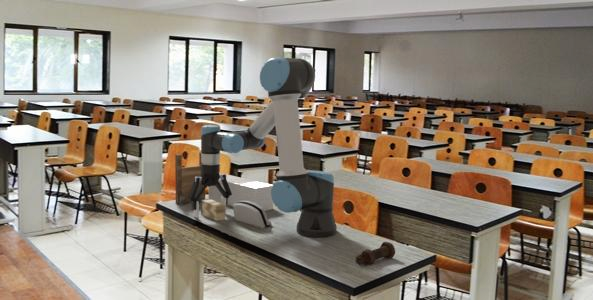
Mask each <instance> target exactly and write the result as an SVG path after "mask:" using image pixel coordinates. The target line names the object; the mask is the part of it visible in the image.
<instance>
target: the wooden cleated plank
mask: <svg viewBox="0 0 593 300" xmlns="http://www.w3.org/2000/svg"><path fill="white" fill-rule="evenodd" d="M198 155H199V157H198V159H199V164H198V165H193V166H185V167H182V165H183V164H182V163H183V161H182V159H183V158H182V154H179V153H177V154H175V156H174V157H175V159H174V160H175V161H174V162H175V164H174V165H175V166H174V167H175V179H174V180H175V181H174V183H175V204H176V205H180V206H181V205H184V206H185V205H186V204H187V203H192V201H189V200H188V196H189V193H190V191H191V188H192V186H193V183H194V177H201V175H202V174H201V164H203V163H202V162H201V151H200V152H199V154H198ZM201 182H202V181H201ZM201 182H199V186H198V188H199V187H200V184H201ZM197 190H198V189H197ZM196 192H197V191H196ZM205 199H206V189H205V190H204V191H203V193H202V194H201V196H200V197H199V199H198V201H197V202H199V203H201V200H205Z"/></svg>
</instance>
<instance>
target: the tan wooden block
mask: <svg viewBox="0 0 593 300" xmlns="http://www.w3.org/2000/svg"><path fill="white" fill-rule="evenodd" d="M200 215H202V216H204V217H207V218H209V219H211V220H214V221H215V222H216V221H223V220H225V219H226V213H225V204H222V203H219V202H217V201H214V200H211V199H208V198H207V199H206V198H205V200H201V202H200Z"/></svg>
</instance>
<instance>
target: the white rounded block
mask: <svg viewBox="0 0 593 300" xmlns="http://www.w3.org/2000/svg"><path fill="white" fill-rule="evenodd" d="M232 210H233V215H234V219H235V221H238V222H242V223H245V224H248V225H252V226H255V227H258V228H262V229H264V228H266V226H270V227H272V226H273V225H272V221H269V218H268V216H267V214H266V211H265V210H264V208H262V207H261V206H259V205H258V204H256V203H253V202H250V201H239V202H237V203H236V204H234V205H233V206H232Z"/></svg>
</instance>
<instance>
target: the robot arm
mask: <svg viewBox="0 0 593 300" xmlns="http://www.w3.org/2000/svg"><path fill="white" fill-rule="evenodd" d="M259 72H260V73H259V81H260V84H261V87H262V88H263V89H264V90H265V91H266V92H267V96H268V99H269V100H270V102H269V103H268V104H267V105H266V107H264V109H263V110H262V111H261V112H260V114H259V115H258V116H257V117H256V118H255V119H254V121H253V122H252V123H251V124H250V125H249V127H248V128H247V129H246V130H242V131H235V132H234V131H233V132H232V131H231V132H224V131H221V128H220V126H219V125H217V124H216V125H215V124H213V125H212V124H207V125H202V127H201V130H200V131H201V132H200V146H201V147H200V152H201V162H202V163H203V164H201V174H202V175H201V177H194V183H193V186H192V188H191V191H190V193H189V196H188V200H189V201H192V202H191V209H192V210H193V217H194V218H196V219H199V218H200V212H199V210H200V209H199V208H200V204H199V203H200V202H197V201H198V199H199V197H200V196H201V194H202V193H203V191H204V190H205V191H206V189H207V188H209V187H210V186H216V187H217V189H218V190H219V191H220V193H221V194H222V196H223V197H221V203H222V204H225V214H226V213H227V206H228V205H227V204H228V198H229V196H231V195H232V193H231V190H230V188H229V185H228V182H227V180H226V173H220V171H221V170H220V169H221V164H220V163H221V152H223V153H224V152H226V153H229V154H232V153H233V154H238V153H240V152H241V151H245V150H257V149H260V148H262V147H264V146H265V142H266V137H267V136H268V134H269V133H270V132H271V131H272V130H273V129H274V127H275V135H276V136H275V137H276V146H277V154H278V155H277V157H278V167H279V171H277V172H276V174H275V182H274V183H273V184H272V185H273V187H272V188H271V198H272V201H273V205H274V206H275V207H276V208H277V209H278V210H279V211H281V212H283V213H288V214H289V213H297V212H299V211H300V215H299V219H298V222H297V224H296V232H297V233H298V234H300V235H303V236H306V237H312V238H324V237H333V236H334V235H336V234H337V233H338V232H337V229H338V227H337V223H336V220H335V217H334V209H333V206H334V191H335V190H334V186H335V182H334V181H335V180H334V179H335V178H334V177H335V176H334V175H333V174H332V173H331V172H327V171H321V170H314V169H313V170H311V169H306V168H305V165H304V156H303V145H302V136H301V126H300V113H299V103H298V100H302V99H304V98H305V97H306V96H307V94H308V93H309V92H310V91H311V89H312V88H313V86H314V84H315V82H316V71H315V68H314V67H313V65H312V64H311V63H310V62H309V61H307V60H306V59H303V58H295V57H284V56H283V57H282V56H281V57H279V56H278V57H272V58H269V59H267V60H266V61H265V63H264V64H263V66H262V67H261V70H260V71H259ZM219 179H221V181H222V184H223V186H224V189H225V190H224V189H223V188H222V186H221V184H220V183H219V181H218V180H219ZM201 181H202V182H201ZM199 182H201V184H200V187H199V188H198V186H199ZM197 189H198V190H197ZM196 191H197V192H196ZM225 191H226V192H225Z"/></svg>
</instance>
